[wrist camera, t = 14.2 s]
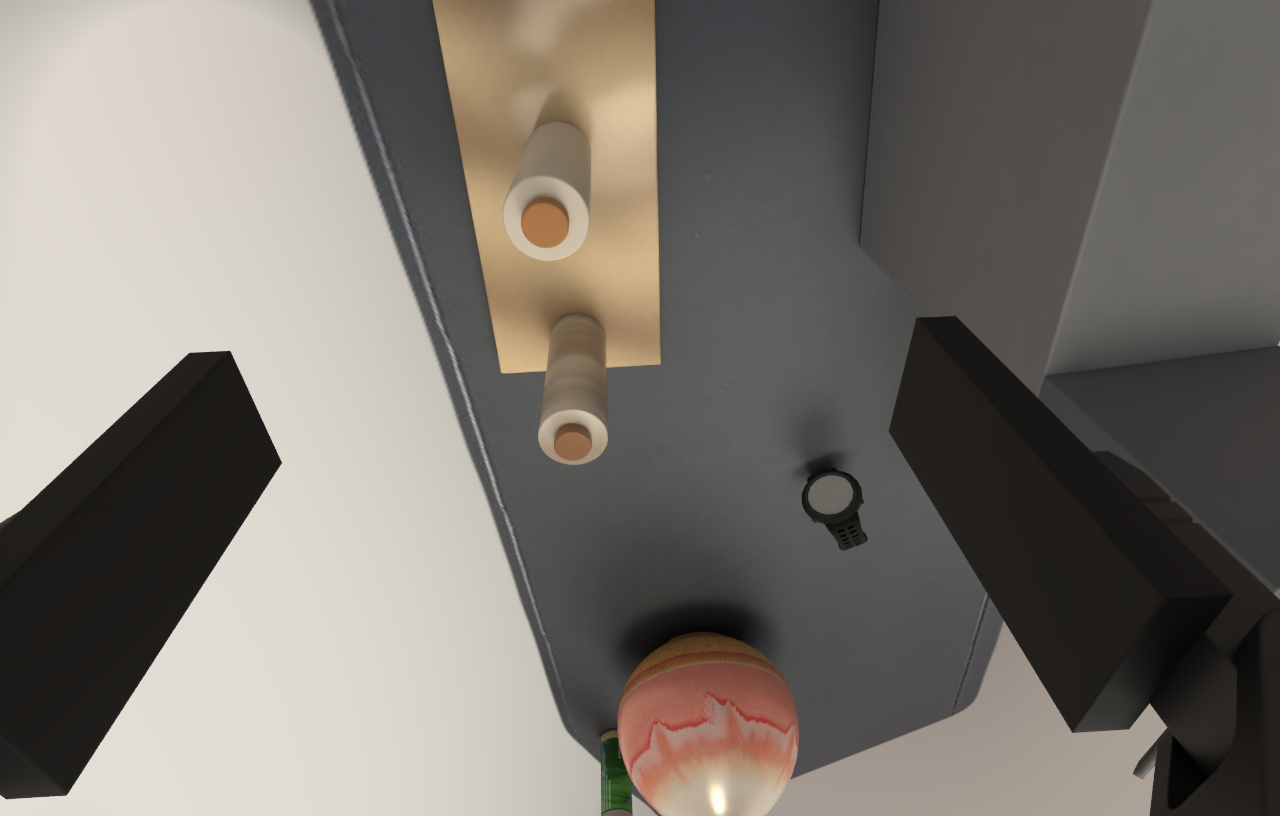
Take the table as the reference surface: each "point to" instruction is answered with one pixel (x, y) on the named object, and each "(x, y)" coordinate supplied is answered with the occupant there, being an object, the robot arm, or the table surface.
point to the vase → (708, 728)
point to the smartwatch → (836, 506)
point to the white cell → (550, 194)
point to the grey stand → (1101, 224)
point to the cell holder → (619, 203)
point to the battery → (614, 778)
